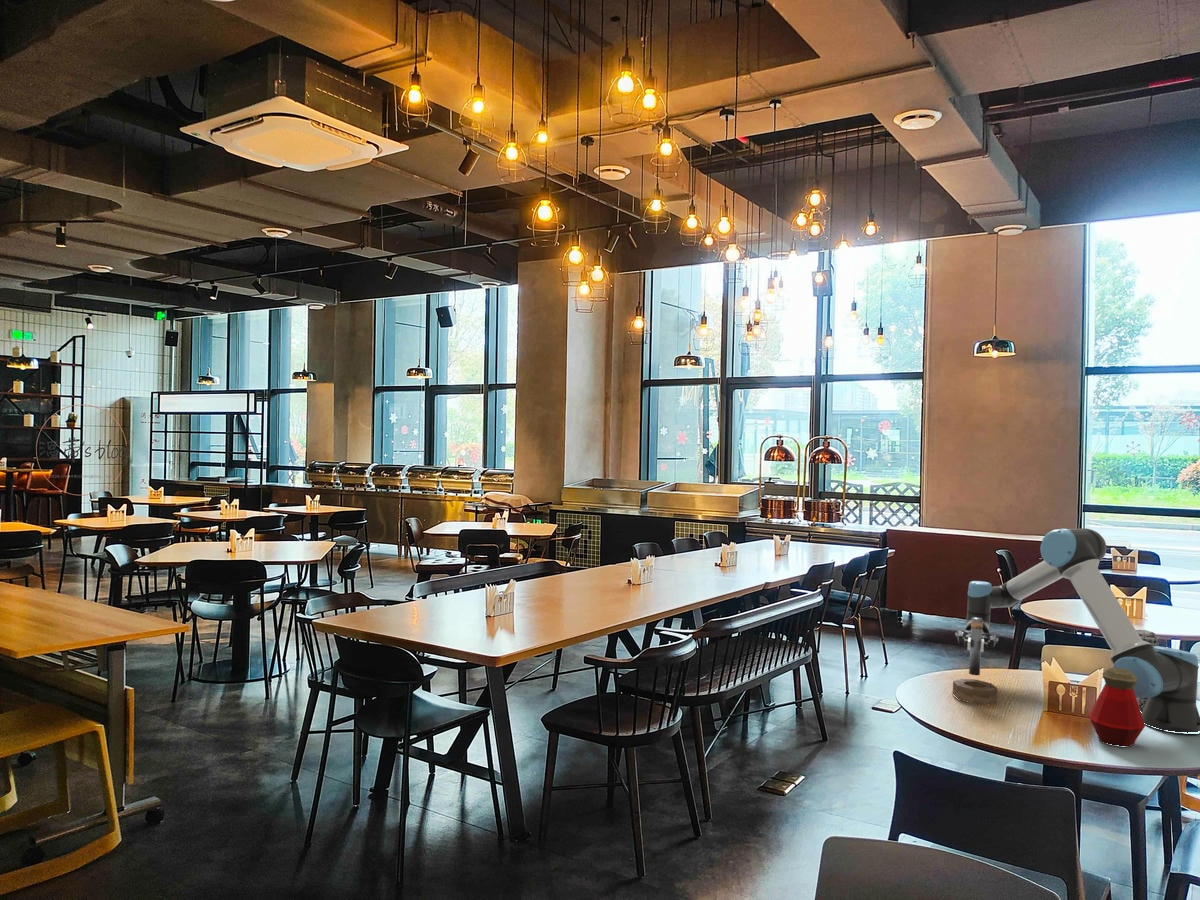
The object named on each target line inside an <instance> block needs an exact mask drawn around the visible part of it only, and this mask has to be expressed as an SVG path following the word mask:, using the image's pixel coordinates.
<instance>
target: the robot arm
mask: <svg viewBox="0 0 1200 900" xmlns="http://www.w3.org/2000/svg"><path fill="white" fill-rule="evenodd" d="M1039 551H1040V554H1041V558H1042V559H1043V560H1042V561H1041V562H1039V563H1037V564H1035V565H1034V566H1032V567H1030V568H1029V569H1026V570H1025V571H1023V572H1022V573H1020V574H1018V575H1017V576H1015V577H1013V578H1011V579H1010V580H1008V581H1006V582H1005V583H1003V584H1001V585H998V586H997V585H996V586H992V583H991V582H987V581H981V580H972V581H969V583H968V590H967V608H966V611H967V612H966V624H965V630H963V631H962V630H959V629H955V634H954V635H955V638H956V639H957V643H958V644H960V645H961V644H963V647H964V648H967V651H970V645H971V621H972V617H977V618H982V619H983V625H982V640H981V653H984V649H988V648H990V649H994V648H995V646H996V644H999V635H998V634H990V630H991V609H996V608H997V609H998V608H1013V607H1016V606H1019V605H1020V604H1021V603H1022V601H1023V599H1026V598H1027V597H1029V596H1031V595H1032V594H1035V593H1036V592H1037V593H1038V591H1040V590H1042V589H1044V588H1046V587H1047V586H1049V585H1051V584H1053V583H1055V582H1057V581H1060V580H1061V579H1063V578H1064V579H1067V580H1069V581H1070V582H1071V584H1072V586H1073V587H1074V589H1075V591H1076V592H1077V594H1078V596H1079V597H1080V599H1081V601H1082V603H1083V604H1084V606H1085V609H1087V611H1088V612H1089V614H1090V615H1091V618H1092V620H1093V621H1094V623H1095V625H1096V626H1097V627H1098V630H1099V631H1100V633H1101V634H1102V636H1103V638H1104V639H1105V641H1106V643H1107V645H1108V646H1109V648H1110V649H1111V655H1110V656H1109V657H1110V660H1111V663H1112V664H1113V666H1112V668H1122V669H1126V670H1129V671H1131V672H1132V673H1133V675H1134V676H1135V677H1136V678H1137V682H1136V684H1135V686H1134V688H1133V690H1134V693H1135V696H1136V697H1137V698H1148V700H1147V702H1146V704H1145V706H1144V708H1143V711H1142V713H1141V715H1142V718H1143V722H1144V723H1145V724H1147V725H1150V726H1153V727H1156V728H1159V729H1162V730H1168V731H1175V732H1187V733H1188V732H1198V731H1200V714H1199V712H1200V711H1199V710H1198V707H1197V697H1198V696H1197V695H1198V694H1197V693H1198V681H1199V680H1198V678H1199V677H1198V675H1199V668H1200V666H1199V658H1198V656H1197V655H1196V654H1194V653H1192V652H1189V651H1186V650H1181V649H1177V648H1174V647H1173V648H1172V647H1165V646H1158V645H1157V646H1152V645H1151V643H1149V642H1146V641H1143V640H1142V639H1141V637H1140V636H1139V634H1138V633H1137V631H1136V630H1137V629H1136V627H1135V626H1134V625H1133V623H1132V622H1131V619H1130V618H1129V617H1128V615H1127V613H1126V612H1125V610H1124V608H1123V607H1122V605H1121V604H1120V602H1119V601H1118V598H1117V597H1116V596H1115V594H1114V592H1113V591H1112V589H1111V588H1110V586H1109V584H1108V582H1107V581H1106V579H1105V577H1104V576H1103V574H1102V573H1101V571H1100V569H1099V564H1100V561H1102V560H1103V559H1104V558H1105V557H1106V556H1105V555H1106V553H1107V543H1106V540H1105V538H1104V537H1103V536H1102V535H1101V533H1099V532H1098V531H1096V530H1093V529H1091V528H1084V527H1083V528H1059V529H1053V530H1050V531H1049V532H1047V533H1045V535H1044V537H1043V538H1042V540H1041V544H1040V550H1039ZM1145 724H1144V725H1145ZM1147 725H1146V726H1147Z"/></svg>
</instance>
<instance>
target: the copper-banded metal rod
mask: <svg viewBox="0 0 1200 900" xmlns="http://www.w3.org/2000/svg"><path fill="white" fill-rule="evenodd" d="M982 625H983V619H982V618H977V617H972V621H971V645H970V650H969V664H968V666H969V667H968V673H969V675H972V676H980V675H981V661H982V660H981V656H982V652H981V640H982Z"/></svg>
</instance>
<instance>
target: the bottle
mask: <svg viewBox="0 0 1200 900" xmlns="http://www.w3.org/2000/svg"><path fill="white" fill-rule="evenodd" d="M1102 677H1103V680H1104V683H1105V684H1104V686H1103V687H1102V690H1101V691H1100V693H1099V695H1098V696H1097V699H1096V701H1095V702H1094V704H1093V706H1092V708H1091V710H1090V711H1089V714H1088V716H1089V720H1090V722H1091V724H1092V726H1093V729H1094V731H1095V733H1096V735H1097V737H1098V740H1099V741H1100V742H1101V741H1102V742H1101V743H1103V742H1104V743H1103V744H1105V743H1108V744H1112V745H1119V746H1130V745H1132V744H1133V745H1134V744H1135V742H1136V741H1137V739H1138V737H1139V736H1140V735H1141V734H1142V732H1143V730H1144V729H1145V726H1146V725H1145V724H1144V722H1143V718H1142V715H1141V712H1140V709H1139V706H1138V702H1137V699H1136V696H1135V693H1134V690H1133V688H1134V686H1135V684H1136V682H1137V678H1136V677H1135V676H1134V675H1133V673H1132V672H1131V671H1129V670H1126V669H1122V668H1113V667H1109V668H1108V669H1106V670H1105V671H1104V672H1102ZM1108 744H1107V745H1108ZM1112 745H1111V746H1112ZM1133 745H1132V746H1133ZM1130 747H1131V746H1130Z"/></svg>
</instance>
